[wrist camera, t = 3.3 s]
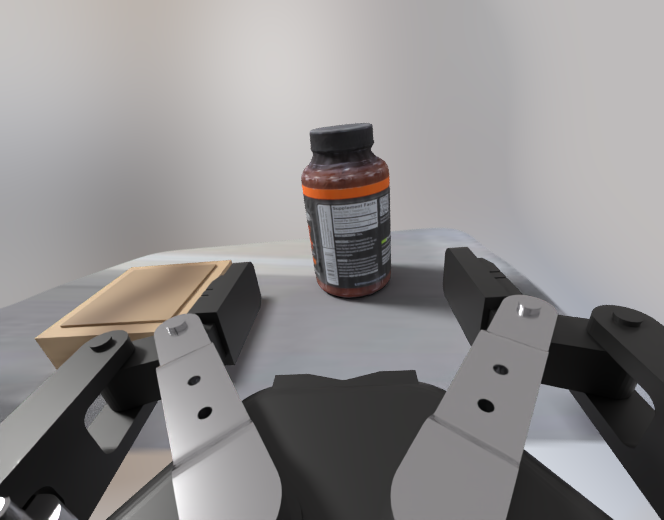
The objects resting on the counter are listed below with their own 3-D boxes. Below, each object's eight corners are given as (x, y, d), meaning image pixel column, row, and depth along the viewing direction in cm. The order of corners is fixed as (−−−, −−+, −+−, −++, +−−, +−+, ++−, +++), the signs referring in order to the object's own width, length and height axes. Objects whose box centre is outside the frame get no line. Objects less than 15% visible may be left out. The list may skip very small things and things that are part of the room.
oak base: (62, 378, 17) (32, 336, 16) (146, 299, 24) (130, 265, 23) (194, 373, 16) (175, 328, 15) (240, 293, 24) (230, 258, 22)
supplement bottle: (321, 264, 27) (303, 128, 22) (388, 261, 26) (385, 119, 21) (311, 302, 21) (284, 134, 16) (394, 300, 21) (393, 122, 16)
